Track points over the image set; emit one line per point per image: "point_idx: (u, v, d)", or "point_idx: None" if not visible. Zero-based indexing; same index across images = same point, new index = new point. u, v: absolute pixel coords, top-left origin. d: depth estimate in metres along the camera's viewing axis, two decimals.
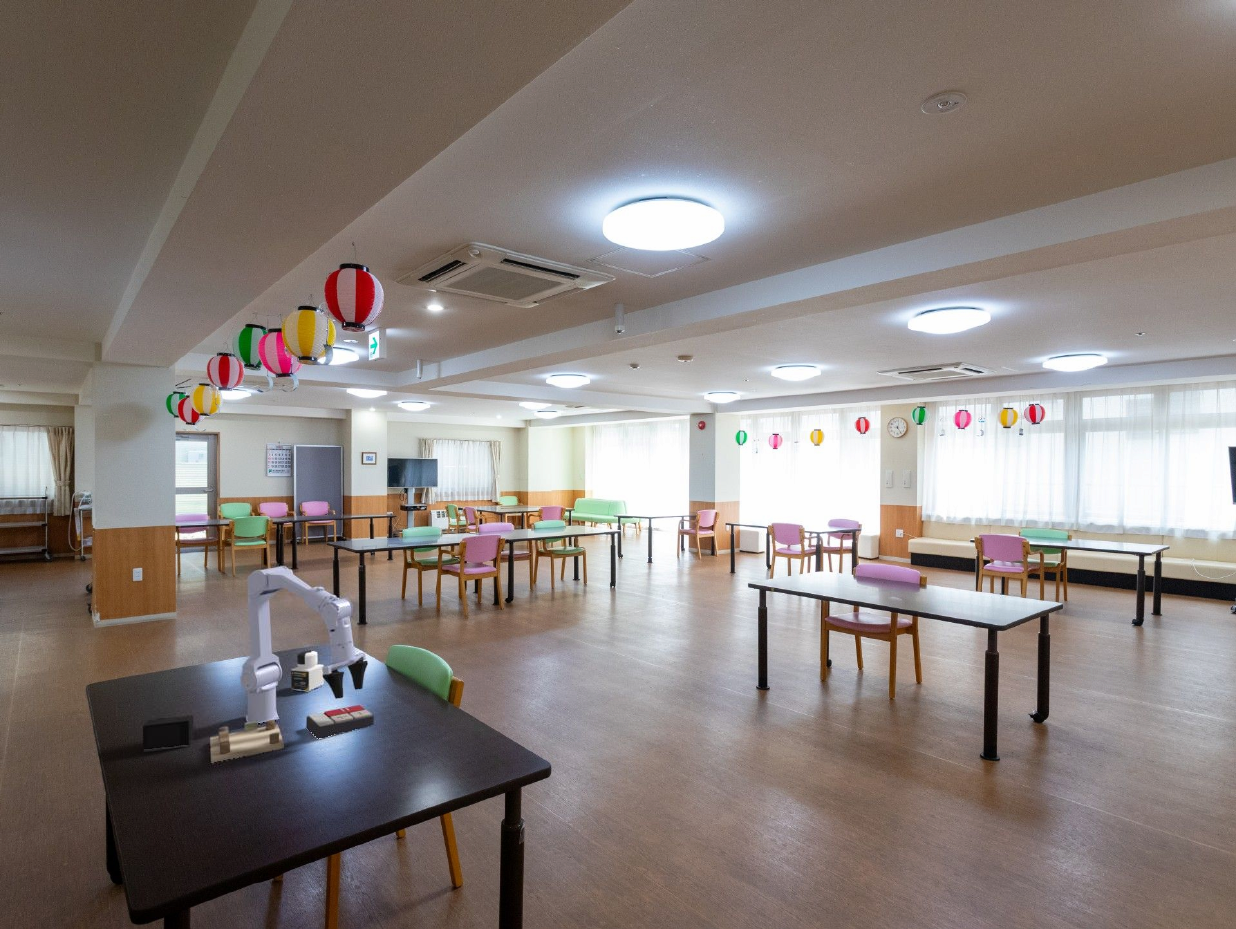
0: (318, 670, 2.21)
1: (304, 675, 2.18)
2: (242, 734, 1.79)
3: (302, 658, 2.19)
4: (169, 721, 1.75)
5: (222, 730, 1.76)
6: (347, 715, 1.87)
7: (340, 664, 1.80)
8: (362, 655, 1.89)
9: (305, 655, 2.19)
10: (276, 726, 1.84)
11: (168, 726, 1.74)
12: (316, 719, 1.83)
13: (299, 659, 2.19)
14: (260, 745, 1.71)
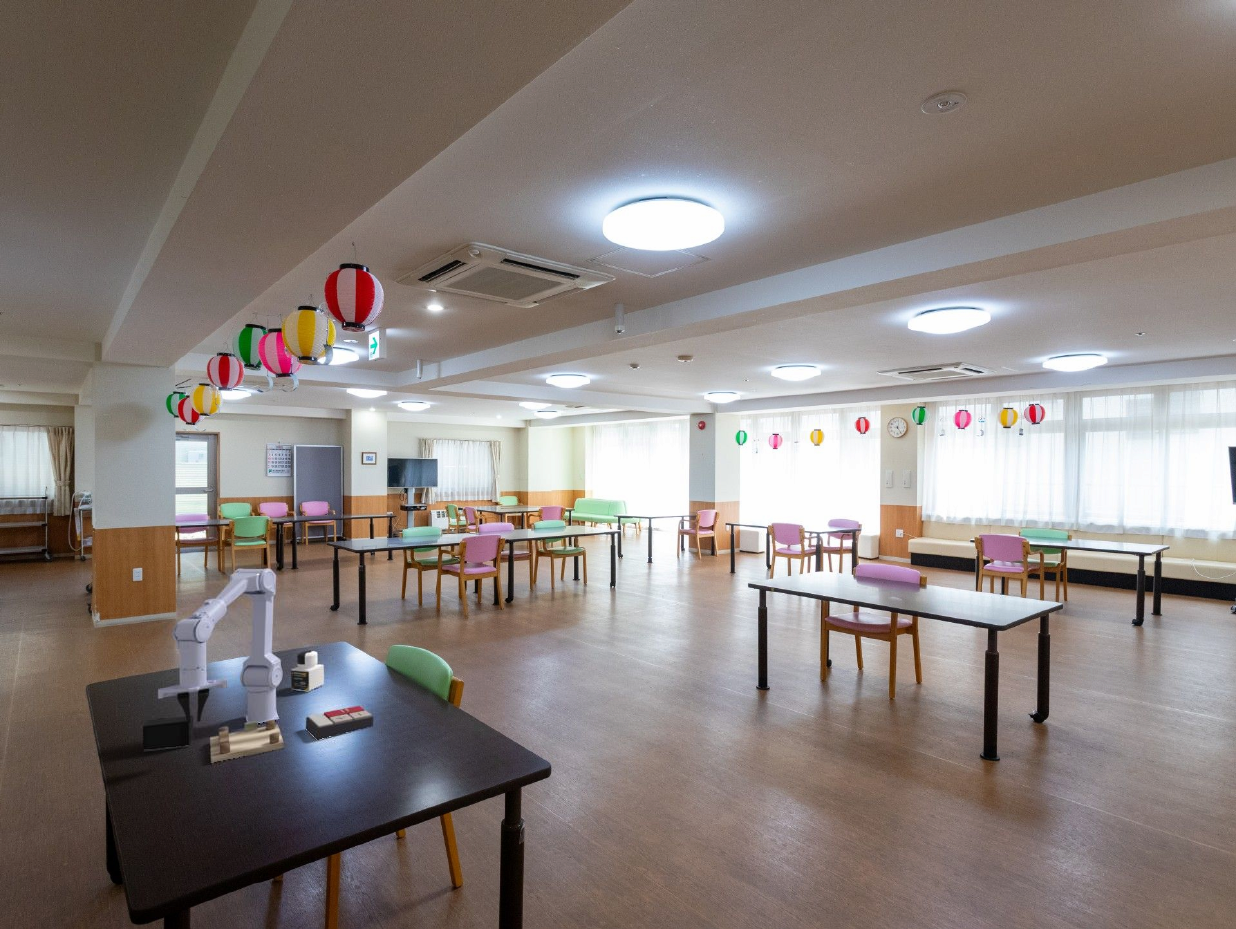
0: (318, 670, 2.21)
1: (304, 675, 2.18)
2: (242, 734, 1.79)
3: (302, 658, 2.19)
4: (169, 721, 1.75)
5: (222, 730, 1.76)
6: (346, 716, 1.86)
7: (175, 691, 1.64)
8: (220, 683, 1.70)
9: (305, 655, 2.19)
10: (276, 726, 1.84)
11: (168, 726, 1.74)
12: (315, 720, 1.83)
13: (299, 659, 2.19)
14: (260, 745, 1.71)
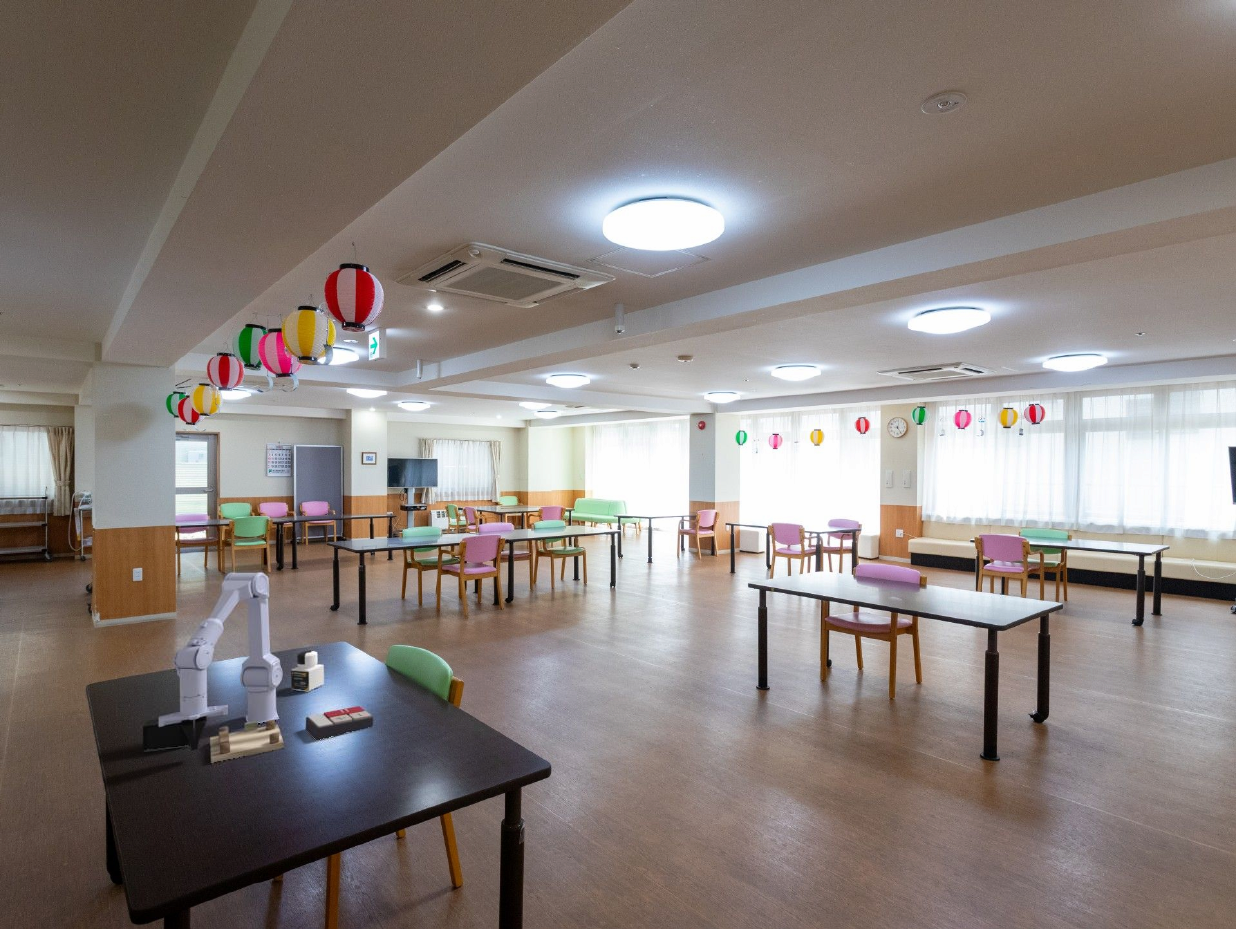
0: (318, 670, 2.21)
1: (304, 675, 2.18)
2: (242, 734, 1.79)
3: (302, 658, 2.19)
4: None
5: (222, 730, 1.76)
6: (346, 716, 1.86)
7: (176, 718, 1.64)
8: (221, 710, 1.70)
9: (305, 655, 2.19)
10: (276, 726, 1.84)
11: (168, 726, 1.74)
12: (315, 720, 1.83)
13: (299, 659, 2.19)
14: (260, 745, 1.71)
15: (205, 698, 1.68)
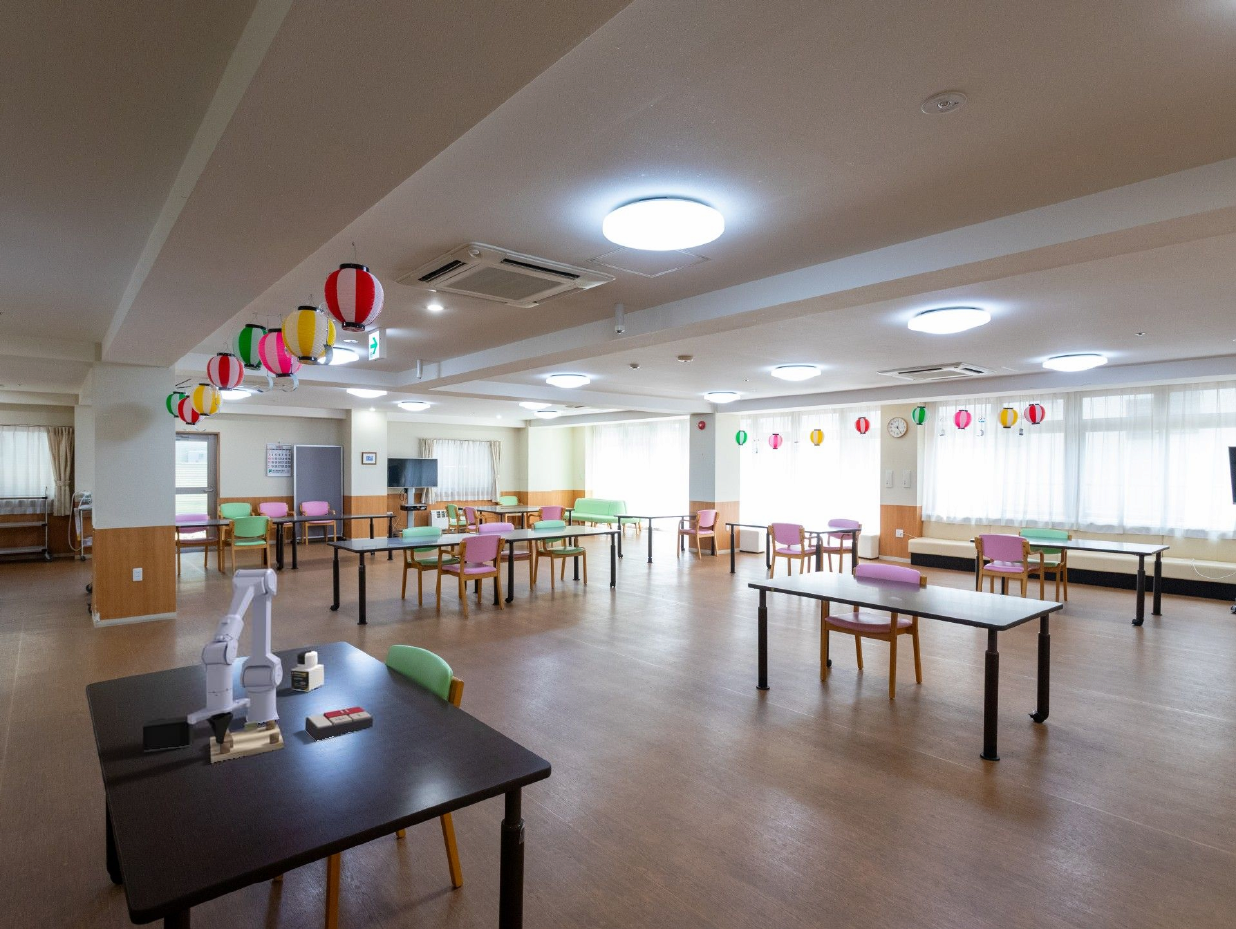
0: (318, 670, 2.21)
1: (304, 675, 2.18)
2: (242, 734, 1.79)
3: (302, 658, 2.19)
4: (169, 721, 1.75)
5: None
6: (346, 717, 1.85)
7: (208, 714, 1.67)
8: (244, 702, 1.75)
9: (305, 655, 2.19)
10: (276, 726, 1.84)
11: (168, 726, 1.74)
12: (315, 721, 1.82)
13: (299, 659, 2.19)
14: (260, 745, 1.71)
15: (232, 692, 1.72)
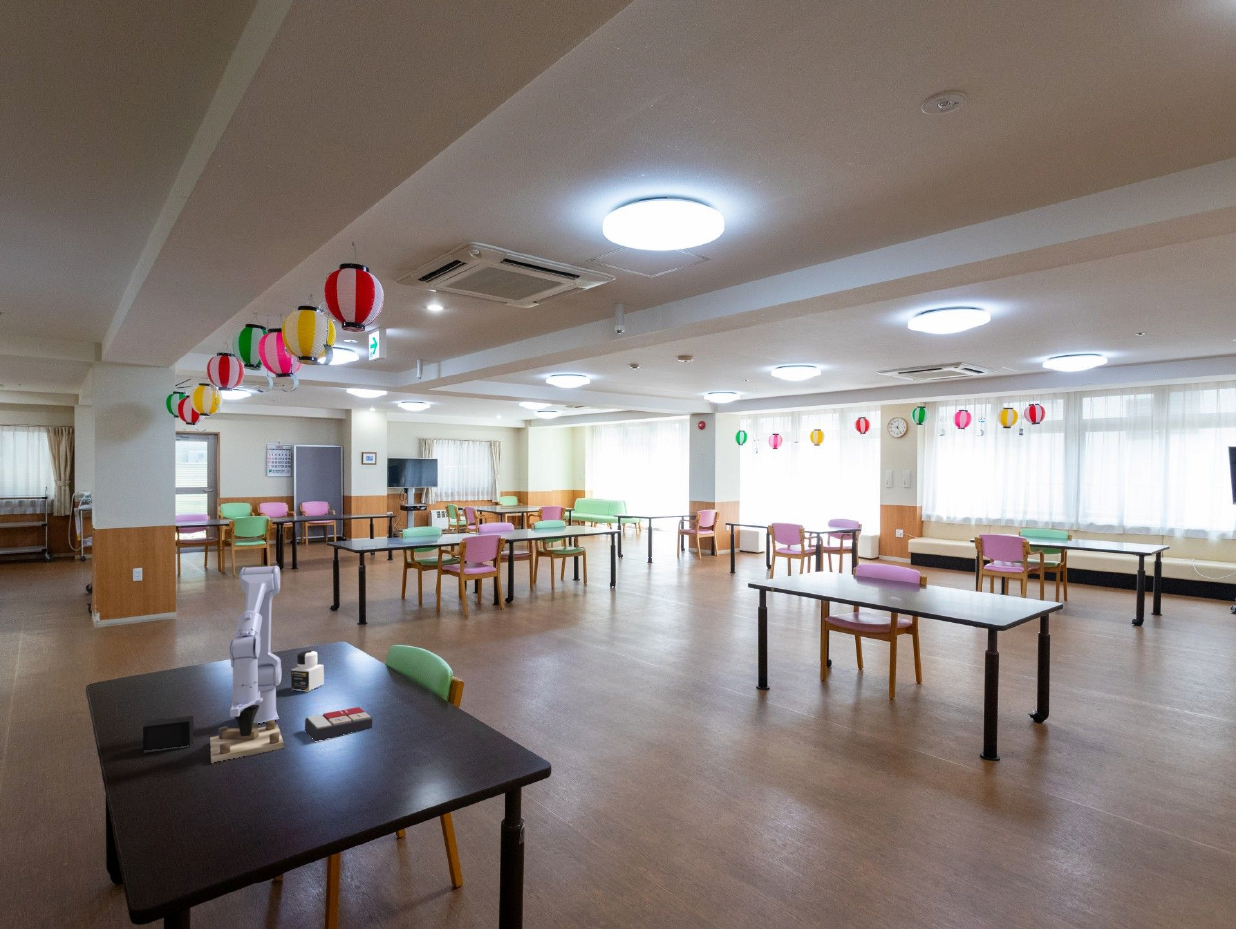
0: (318, 670, 2.21)
1: (304, 675, 2.18)
2: None
3: (302, 658, 2.19)
4: (169, 722, 1.75)
5: (226, 729, 1.77)
6: (345, 717, 1.85)
7: (247, 705, 1.72)
8: (258, 694, 1.81)
9: (305, 655, 2.19)
10: (276, 726, 1.84)
11: (168, 727, 1.74)
12: (314, 721, 1.82)
13: (299, 659, 2.19)
14: (260, 745, 1.71)
15: None
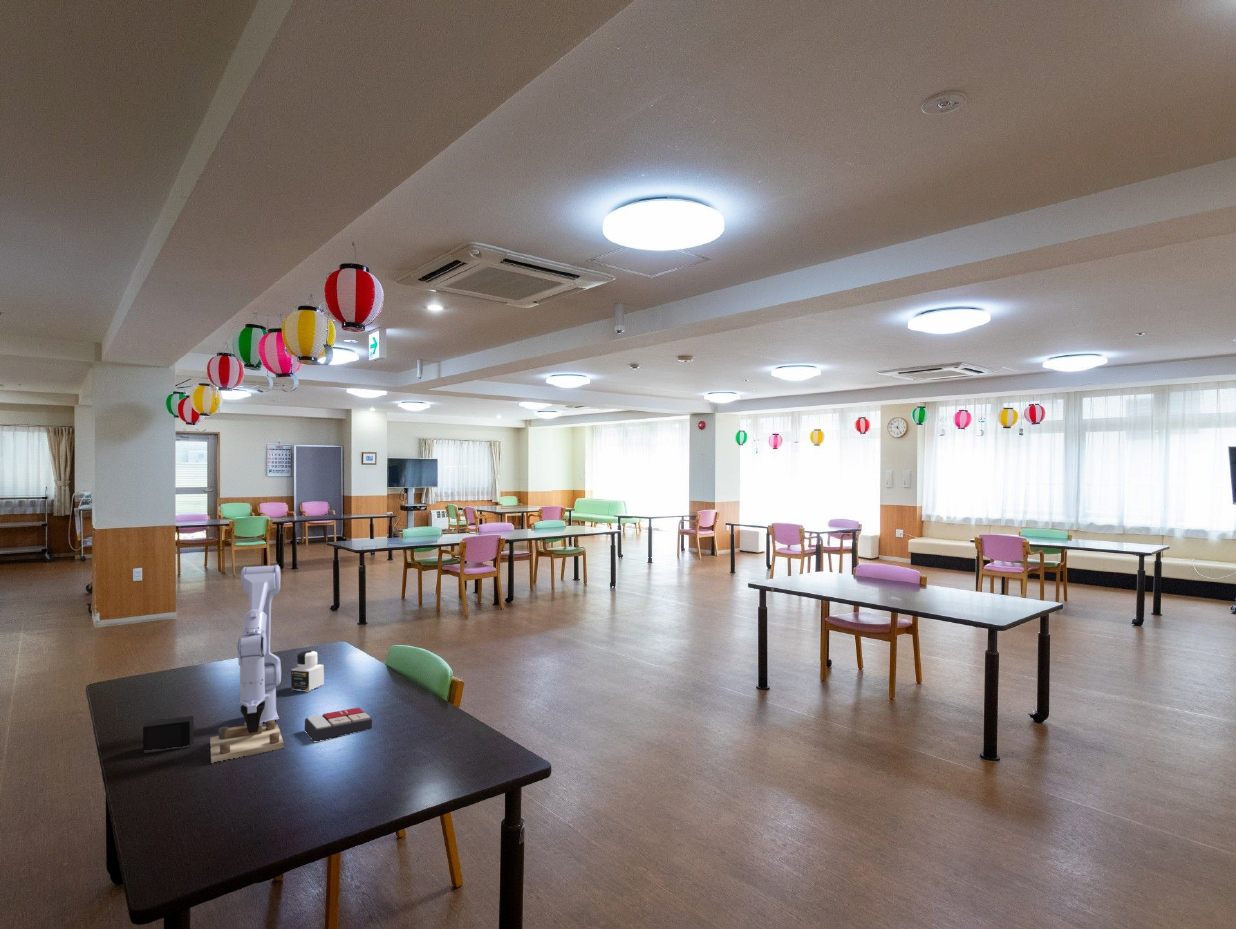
0: (318, 670, 2.21)
1: (304, 675, 2.18)
2: None
3: (302, 658, 2.19)
4: (169, 722, 1.75)
5: (227, 728, 1.77)
6: (345, 718, 1.84)
7: (260, 701, 1.75)
8: None
9: (305, 655, 2.19)
10: (276, 726, 1.84)
11: (168, 727, 1.74)
12: (314, 721, 1.82)
13: (299, 659, 2.19)
14: (260, 745, 1.71)
15: None
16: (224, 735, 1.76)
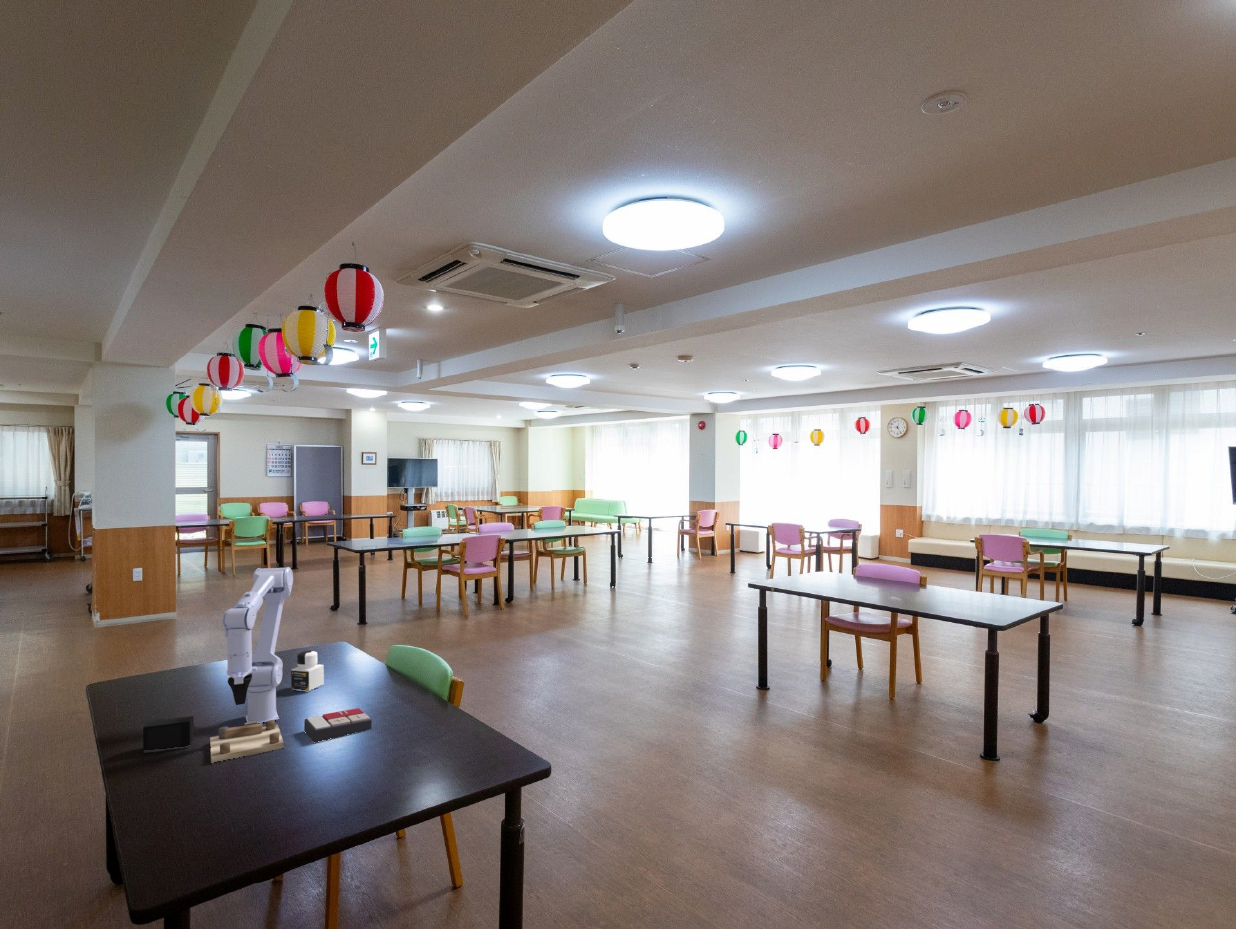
0: (318, 670, 2.21)
1: (304, 675, 2.18)
2: None
3: (302, 658, 2.19)
4: (169, 722, 1.74)
5: (227, 728, 1.77)
6: (345, 718, 1.84)
7: (247, 673, 1.78)
8: None
9: (305, 655, 2.19)
10: (276, 726, 1.84)
11: (168, 727, 1.73)
12: (313, 722, 1.81)
13: (299, 659, 2.19)
14: (260, 745, 1.71)
15: None
16: (224, 735, 1.76)
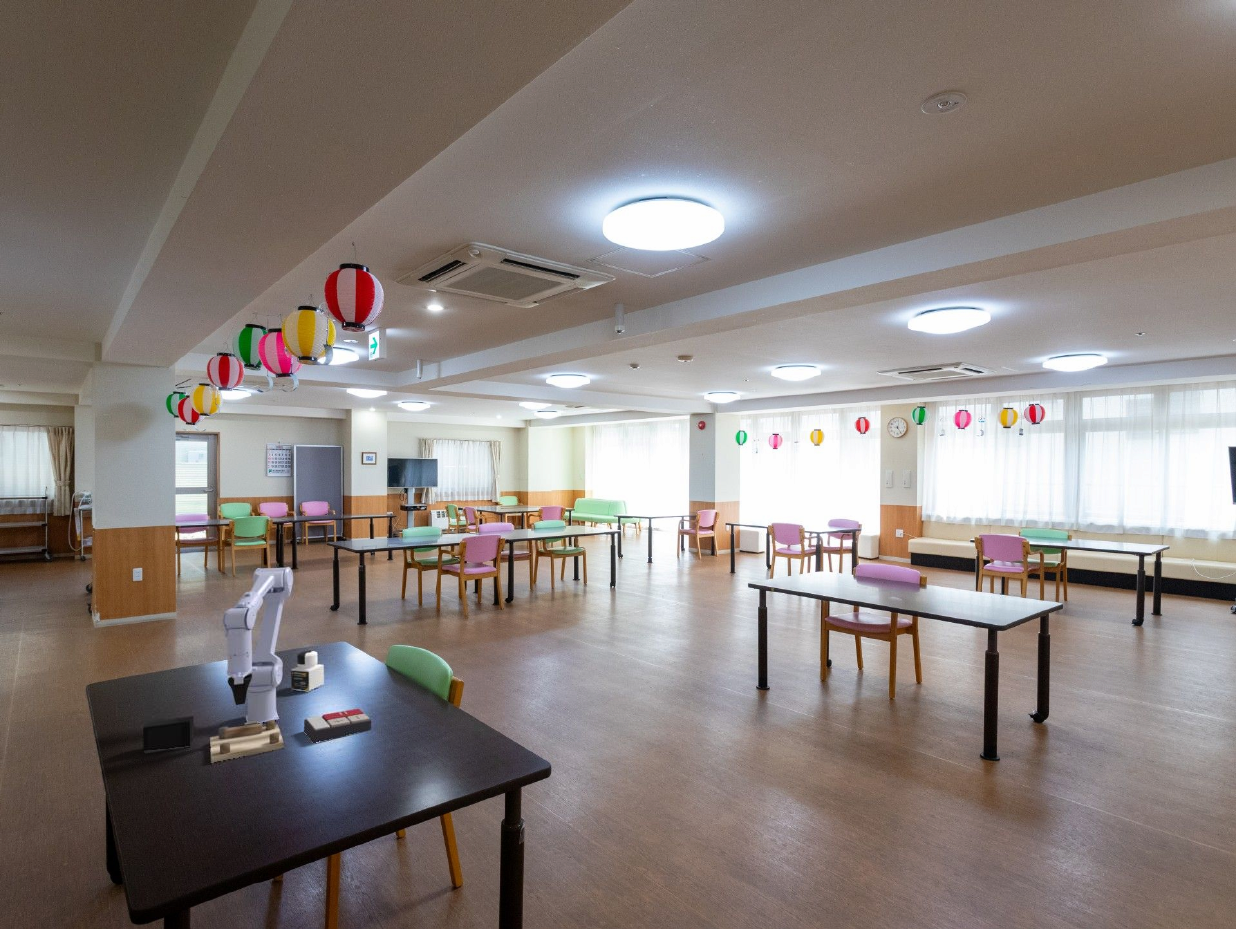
0: (318, 670, 2.21)
1: (304, 675, 2.18)
2: None
3: (302, 658, 2.19)
4: (169, 722, 1.74)
5: (227, 728, 1.77)
6: (344, 719, 1.84)
7: (247, 673, 1.78)
8: None
9: (305, 655, 2.19)
10: (276, 726, 1.84)
11: (168, 727, 1.73)
12: (313, 722, 1.81)
13: (299, 659, 2.19)
14: (260, 745, 1.71)
15: None
16: (224, 735, 1.76)
